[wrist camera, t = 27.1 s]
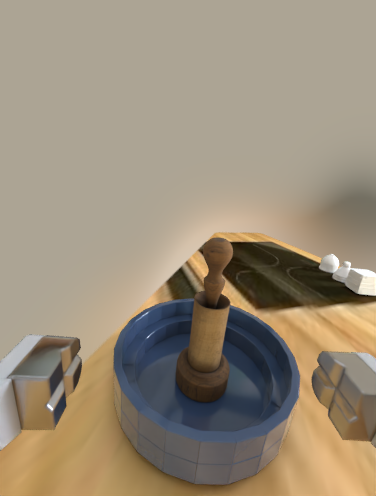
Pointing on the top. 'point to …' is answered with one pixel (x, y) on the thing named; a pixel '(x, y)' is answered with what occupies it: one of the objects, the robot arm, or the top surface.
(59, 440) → the top surface
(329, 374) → the robot arm
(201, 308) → the mortar and pestle
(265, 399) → the bowl
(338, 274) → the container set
